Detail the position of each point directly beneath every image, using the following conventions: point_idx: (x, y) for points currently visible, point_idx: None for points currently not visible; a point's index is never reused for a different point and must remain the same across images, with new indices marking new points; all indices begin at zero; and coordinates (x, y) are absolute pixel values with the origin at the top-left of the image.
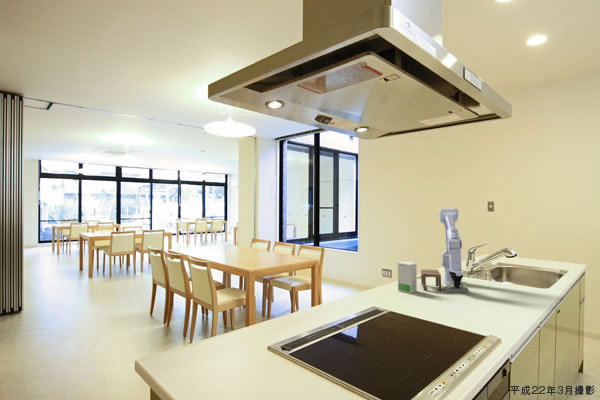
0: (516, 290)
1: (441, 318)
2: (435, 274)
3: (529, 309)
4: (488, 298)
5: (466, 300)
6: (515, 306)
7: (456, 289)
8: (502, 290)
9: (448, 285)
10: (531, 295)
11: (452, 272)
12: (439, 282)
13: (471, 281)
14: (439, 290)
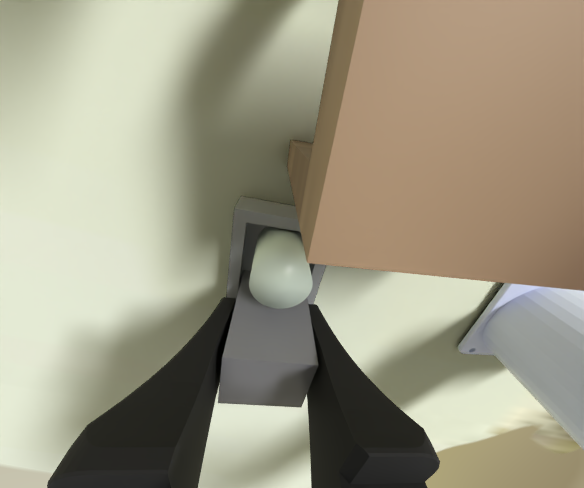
0: (296, 469)
1: None
2: (362, 20)
3: (5, 449)
4: (134, 386)
5: (17, 280)
6: (26, 430)
7: (227, 293)
8: (297, 445)
9: (256, 256)
10: (228, 481)
11: (370, 483)
12: (295, 161)
13: (486, 399)
14: (290, 144)
